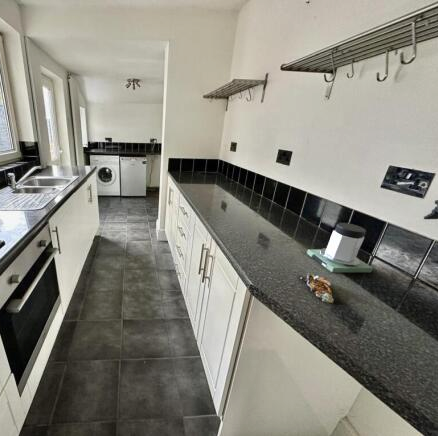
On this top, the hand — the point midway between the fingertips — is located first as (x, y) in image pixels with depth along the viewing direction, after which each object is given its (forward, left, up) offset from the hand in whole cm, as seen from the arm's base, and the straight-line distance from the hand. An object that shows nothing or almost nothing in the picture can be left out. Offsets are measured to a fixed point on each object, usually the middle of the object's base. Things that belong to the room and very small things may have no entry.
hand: (433, 239), depth 71 cm
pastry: (+33, +3, -17) cm, 38 cm away
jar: (+14, -13, -14) cm, 24 cm away
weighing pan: (+14, -13, -15) cm, 25 cm away
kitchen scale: (+14, -13, -17) cm, 26 cm away
